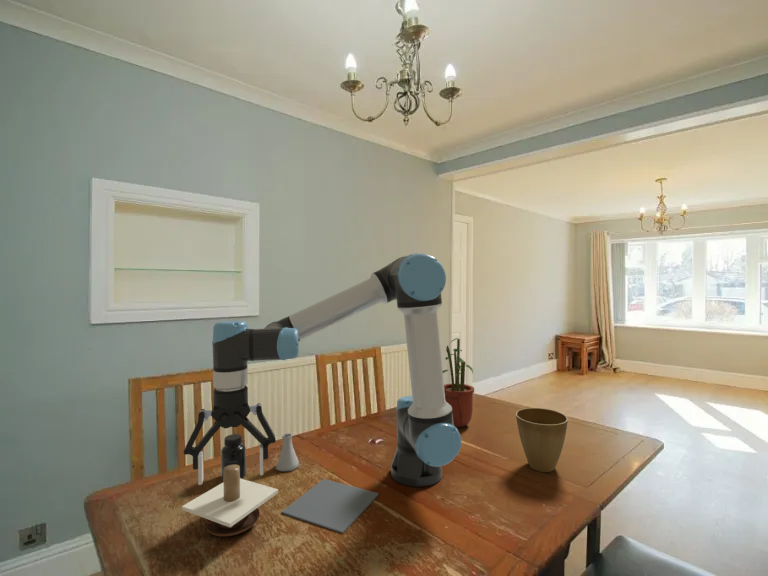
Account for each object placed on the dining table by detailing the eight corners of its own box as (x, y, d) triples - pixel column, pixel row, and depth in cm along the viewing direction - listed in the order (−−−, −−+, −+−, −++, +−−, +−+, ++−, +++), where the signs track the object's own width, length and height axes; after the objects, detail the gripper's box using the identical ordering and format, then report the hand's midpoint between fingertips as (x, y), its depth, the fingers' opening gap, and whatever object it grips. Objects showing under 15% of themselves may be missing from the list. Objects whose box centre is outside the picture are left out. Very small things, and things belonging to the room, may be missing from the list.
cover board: (278, 492, 96) (278, 461, 96) (230, 527, 82) (229, 490, 82) (233, 479, 102) (233, 449, 102) (181, 509, 89) (181, 475, 89)
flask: (293, 473, 117) (293, 440, 117) (271, 471, 119) (270, 438, 119) (303, 462, 125) (302, 431, 124) (282, 460, 126) (281, 429, 126)
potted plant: (477, 430, 150) (477, 339, 149) (437, 430, 150) (436, 340, 150) (468, 415, 167) (468, 333, 167) (432, 415, 167) (431, 334, 167)
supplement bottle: (225, 472, 119) (225, 432, 118) (248, 470, 119) (248, 431, 119) (218, 483, 112) (217, 442, 112) (242, 482, 112) (242, 441, 112)
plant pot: (523, 452, 131) (523, 404, 131) (571, 463, 123) (572, 413, 122) (509, 469, 119) (509, 417, 119) (562, 484, 110) (562, 427, 110)
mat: (378, 494, 105) (378, 493, 105) (342, 533, 89) (342, 531, 89) (323, 480, 113) (323, 478, 113) (281, 513, 97) (281, 511, 97)
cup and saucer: (227, 549, 85) (226, 521, 84) (194, 530, 91) (194, 504, 91) (270, 520, 95) (269, 495, 95) (237, 505, 101) (237, 481, 101)
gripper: (283, 378, 99) (284, 462, 100) (174, 387, 91) (176, 478, 92) (286, 386, 92) (287, 475, 92) (168, 396, 84) (169, 494, 85)
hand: (231, 477), depth 92 cm, fingers open, 13 cm apart
